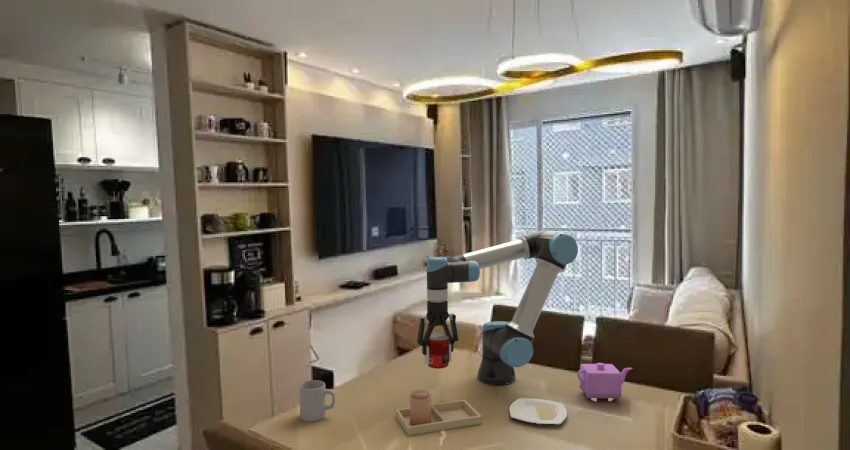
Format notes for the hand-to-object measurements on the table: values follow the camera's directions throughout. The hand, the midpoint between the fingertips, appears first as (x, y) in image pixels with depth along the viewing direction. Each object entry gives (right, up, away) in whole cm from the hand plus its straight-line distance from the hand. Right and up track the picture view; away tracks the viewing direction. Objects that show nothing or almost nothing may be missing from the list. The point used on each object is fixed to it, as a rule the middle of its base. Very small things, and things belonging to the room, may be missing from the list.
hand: (438, 361), depth 183 cm
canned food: (0, -2, 0) cm, 2 cm away
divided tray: (0, -15, -17) cm, 23 cm away
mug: (-41, -15, -13) cm, 46 cm away
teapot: (+61, -14, +3) cm, 63 cm away
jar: (-6, -15, -19) cm, 25 cm away
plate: (+34, -15, -12) cm, 39 cm away
